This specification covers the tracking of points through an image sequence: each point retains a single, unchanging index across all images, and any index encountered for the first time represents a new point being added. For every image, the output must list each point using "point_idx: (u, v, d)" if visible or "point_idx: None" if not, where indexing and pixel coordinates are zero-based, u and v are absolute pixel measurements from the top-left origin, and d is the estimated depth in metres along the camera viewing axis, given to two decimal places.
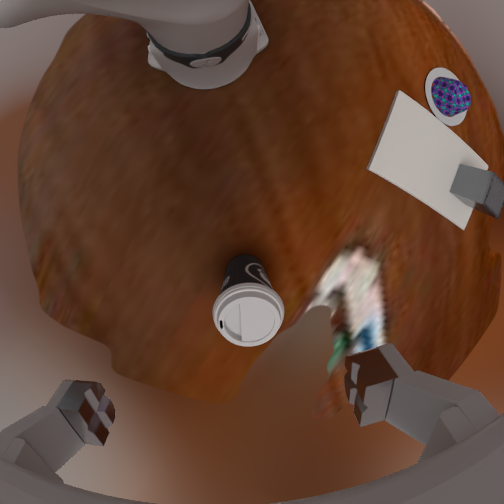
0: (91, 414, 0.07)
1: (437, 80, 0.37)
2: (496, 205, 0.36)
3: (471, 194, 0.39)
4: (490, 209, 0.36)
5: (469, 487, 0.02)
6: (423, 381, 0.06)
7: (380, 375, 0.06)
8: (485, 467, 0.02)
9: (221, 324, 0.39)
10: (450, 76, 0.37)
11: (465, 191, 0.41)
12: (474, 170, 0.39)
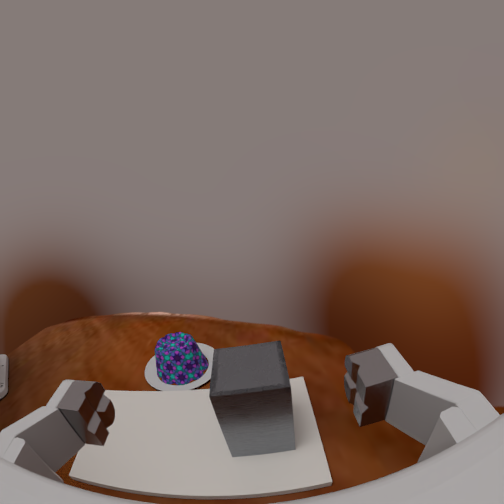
0: (91, 414, 0.07)
1: None
2: (260, 375, 0.22)
3: None
4: (244, 390, 0.20)
5: (469, 487, 0.02)
6: (423, 382, 0.06)
7: (380, 375, 0.06)
8: (485, 467, 0.02)
9: None
10: None
11: None
12: None
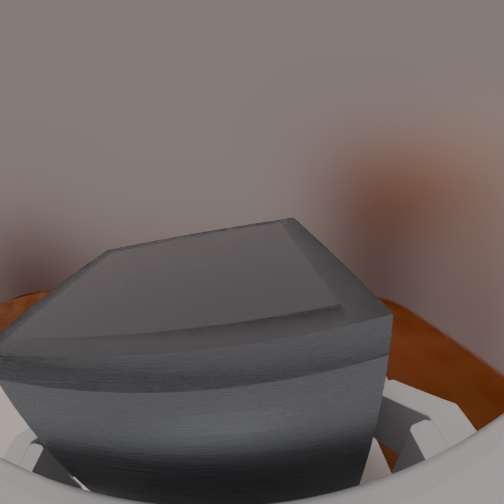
0: None
1: None
2: (209, 285, 0.05)
3: None
4: (99, 342, 0.03)
5: (469, 487, 0.02)
6: (396, 391, 0.06)
7: None
8: (485, 467, 0.02)
9: None
10: None
11: None
12: None
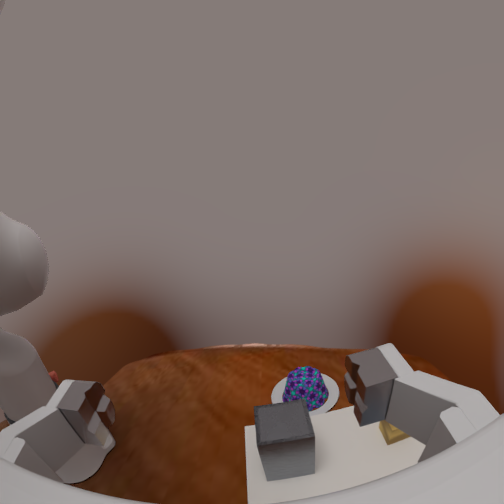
0: (91, 414, 0.07)
1: (283, 397, 0.45)
2: (292, 428, 0.27)
3: None
4: (281, 440, 0.26)
5: (469, 487, 0.02)
6: (423, 381, 0.06)
7: (380, 375, 0.06)
8: (485, 467, 0.02)
9: None
10: (287, 381, 0.50)
11: None
12: None
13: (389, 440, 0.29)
